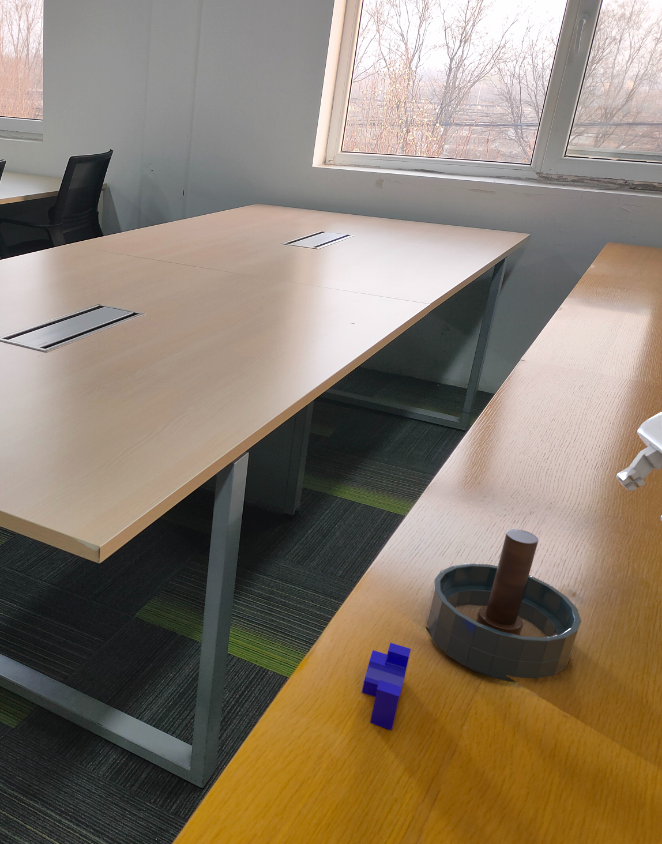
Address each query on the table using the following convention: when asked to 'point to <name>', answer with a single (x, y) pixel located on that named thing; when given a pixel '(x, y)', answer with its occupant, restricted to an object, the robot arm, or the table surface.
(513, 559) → the pestle
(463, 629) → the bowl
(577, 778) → the table surface
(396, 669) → the blue stepped block
